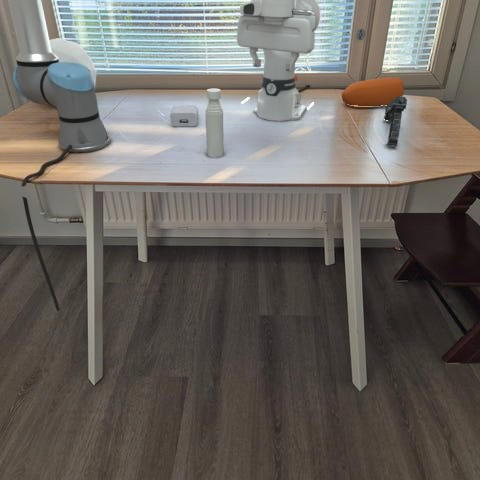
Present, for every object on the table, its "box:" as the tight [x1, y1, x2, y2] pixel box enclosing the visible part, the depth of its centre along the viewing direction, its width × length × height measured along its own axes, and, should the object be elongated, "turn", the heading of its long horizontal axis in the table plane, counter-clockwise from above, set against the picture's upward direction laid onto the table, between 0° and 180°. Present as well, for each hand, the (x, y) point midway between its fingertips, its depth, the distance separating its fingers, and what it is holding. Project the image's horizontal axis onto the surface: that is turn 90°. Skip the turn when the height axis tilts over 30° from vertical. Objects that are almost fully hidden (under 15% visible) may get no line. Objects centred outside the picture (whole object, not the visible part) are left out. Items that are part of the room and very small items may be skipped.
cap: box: [206, 87, 222, 100], centre depth 114 cm, size 4×4×2 cm
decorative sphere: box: [49, 37, 98, 88], centre depth 157 cm, size 24×25×25 cm
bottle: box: [204, 99, 225, 159], centre depth 119 cm, size 5×5×19 cm
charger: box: [169, 105, 199, 127], centre depth 148 cm, size 5×9×15 cm
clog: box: [341, 76, 405, 109], centre depth 165 cm, size 12×11×25 cm
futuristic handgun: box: [383, 95, 408, 147], centre depth 138 cm, size 4×29×15 cm, turn 164°
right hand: (273, 68), depth 105 cm, fingers open, 8 cm apart
